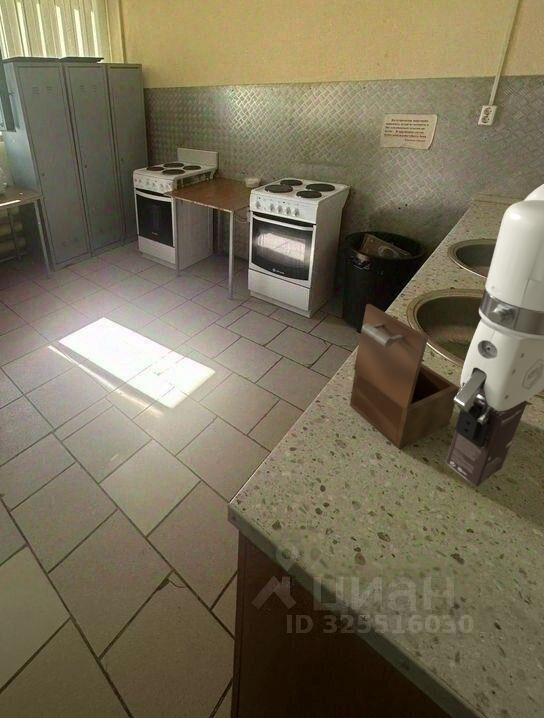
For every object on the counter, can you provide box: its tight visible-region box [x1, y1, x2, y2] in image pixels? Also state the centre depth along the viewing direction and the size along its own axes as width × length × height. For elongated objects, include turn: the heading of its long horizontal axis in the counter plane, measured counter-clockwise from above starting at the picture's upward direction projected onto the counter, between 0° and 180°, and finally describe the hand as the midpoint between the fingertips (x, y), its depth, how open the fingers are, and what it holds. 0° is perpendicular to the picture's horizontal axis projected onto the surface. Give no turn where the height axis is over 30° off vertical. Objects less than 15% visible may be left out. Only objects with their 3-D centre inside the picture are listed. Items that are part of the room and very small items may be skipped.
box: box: [445, 389, 528, 488], centre depth 52 cm, size 6×4×12 cm
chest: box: [349, 362, 460, 450], centre depth 77 cm, size 14×12×9 cm
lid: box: [353, 303, 429, 410], centre depth 70 cm, size 15×12×5 cm
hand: (486, 428), depth 51 cm, fingers closed on box, 6 cm apart
